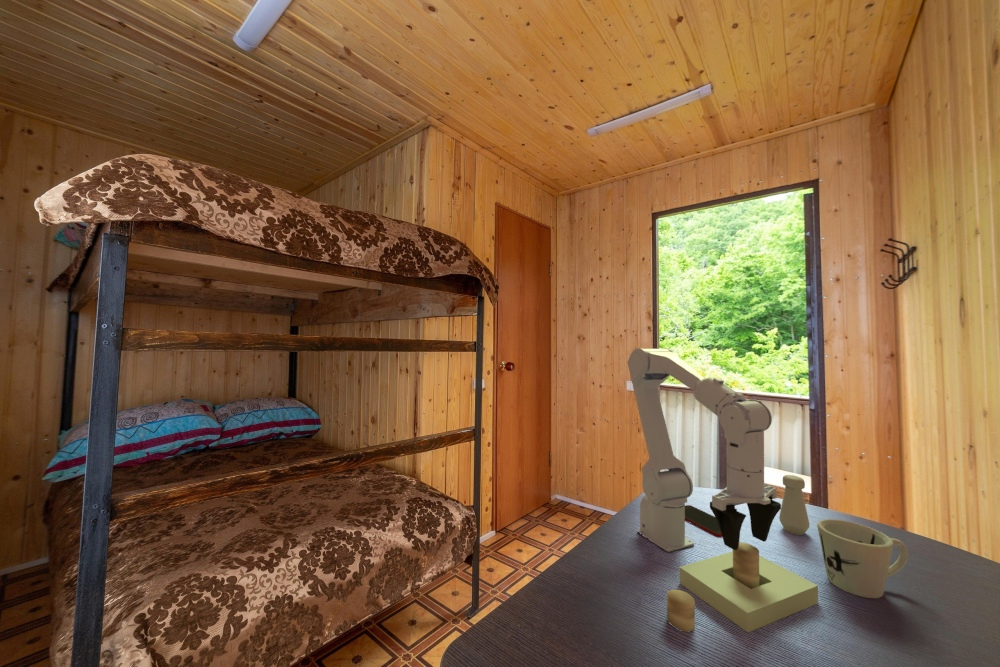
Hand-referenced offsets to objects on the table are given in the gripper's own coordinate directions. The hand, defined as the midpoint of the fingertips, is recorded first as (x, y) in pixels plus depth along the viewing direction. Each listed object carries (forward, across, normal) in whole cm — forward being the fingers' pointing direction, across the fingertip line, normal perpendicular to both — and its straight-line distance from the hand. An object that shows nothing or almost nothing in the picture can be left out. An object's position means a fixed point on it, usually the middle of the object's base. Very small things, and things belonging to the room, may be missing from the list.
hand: (745, 542), depth 68 cm
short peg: (+9, -17, -1) cm, 19 cm away
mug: (+9, +23, -7) cm, 26 cm away
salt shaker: (+9, +33, +11) cm, 36 cm away
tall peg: (+9, 0, 0) cm, 9 cm away
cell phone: (+10, +17, +23) cm, 30 cm away
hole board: (+9, 0, 0) cm, 9 cm away
